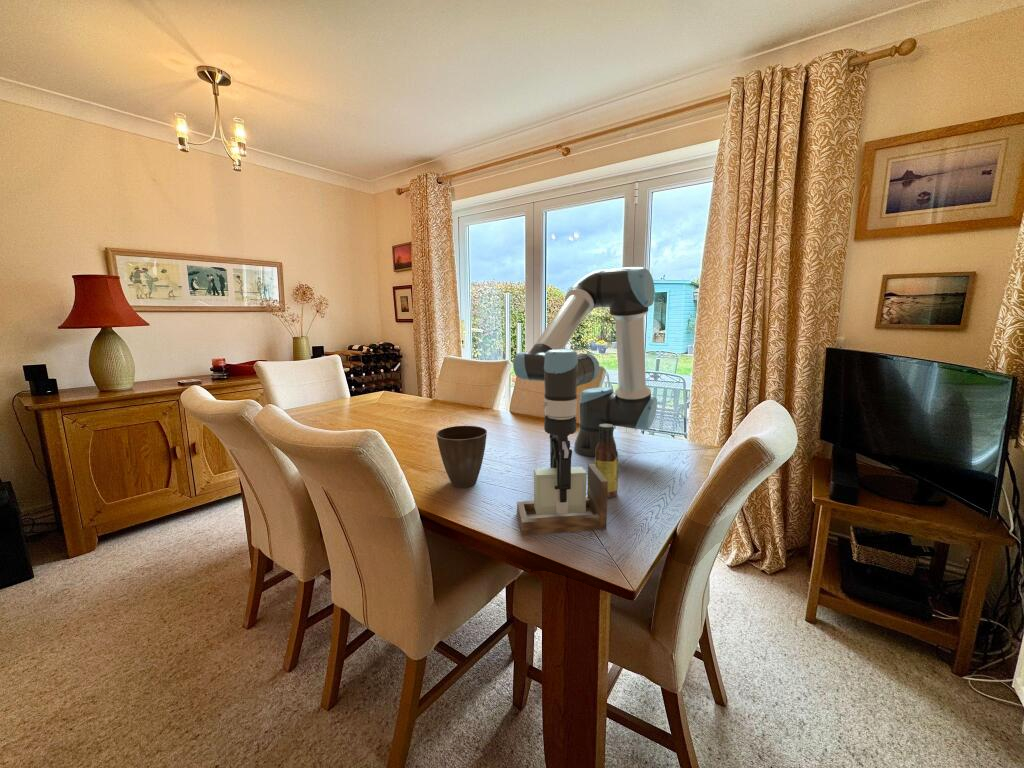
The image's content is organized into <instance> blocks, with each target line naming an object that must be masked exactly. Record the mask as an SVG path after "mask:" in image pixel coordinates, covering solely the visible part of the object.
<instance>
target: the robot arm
mask: <svg viewBox="0 0 1024 768" xmlns="http://www.w3.org/2000/svg"><path fill="white" fill-rule="evenodd" d="M654 283H655V282H654V278H653V276H652V274H651V272H650V271H649V269H647V268H646V267H641V266H640V267H639V266H636V267H635V266H630V267H620V268H611V269H610V268H609V269H598V270H594V271H592V272H590V273H588V274H586V275H584V276H582V277H581V278H580V279H579V280H578V281H576V282H575V283H574V284H573V285H572V286H571V288H570V289H569V290H568V292H567V293H566V295H565V297H564V303H563V304H562V305H561V306H560V308H559V310H558V311H557V312H556V314H555V315H554V317H553V318H552V319H551V321H550V322H549V323H548V325H547V327H545V329H544V331H543V332H542V334H541V335H540V336H539V337H538V339H537V340H536V342H535V343H534V345H533V346H532V347H531V349H530V350H529V351H520V352H518V353H517V354H516V355H515V357H514V358H513V364H512V368H513V372H514V375H515V376H516V377H517V378H519V379H522V380H527V381H534V382H535V381H536V382H537V381H538V382H544V401H542V403H541V406H542V407H544V414H545V416H544V418H543V420H544V424H543V425H544V432H545V433H547V434H549V435H548V436H549V444H550V446H549V447H550V448H549V449H550V450H549V451H550V452H549V453H550V454H549V455H550V456H549V457H550V458H549V459H550V461H549V462H550V465H549V466H550V467H549V468H557V486H554V488H555V489H556V514H567V513H568V489H571V467H572V455H573V450H572V448H571V442H570V440H569V438H568V437H569V436H570V435H574V434H575V433H576V432H577V417H576V416H577V414H578V413H577V412H578V411H577V410H578V405H577V404H578V403H579V430H578V432H577V435H576V438H575V442H574V451H575V452H576V453H578V454H579V455H583V456H587V457H593V458H595V449H596V446H597V445H598V443H599V425H600V424H612V425H613V426H614V427H618V428H626V429H627V428H628V429H633V430H635V431H637V430H639V431H640V430H641V431H646V430H648V429H650V428H651V426H652V425H653V422H654V421H655V417H656V414H657V408H658V399H657V397H655V396H654V395H652V394H651V393H652V392H651V389H650V387H648V386H647V384H646V382H647V381H646V357H645V356H646V355H645V353H646V352H645V325H644V323H645V322H644V321H645V320H644V319H645V318H644V316H645V315H646V314H648V312H649V307H651V306H652V305H653V304H654V302H655V295H656V291H655V284H654ZM598 308H609V315H610V316H611V317H613V318H614V320H615V321H614V322H615V323H614V324H615V334H616V335H615V337H616V338H615V339H616V351H617V352H616V356H617V370H618V371H617V373H618V387H617V388H616V389H615V391H614V388H612V387H609V386H604V387H603V386H602V387H601V386H600V387H592V388H587V389H584V390H582V391H581V392H580V395H579V396H580V397H579V402H578V401H577V400H578V397H577V392H578V391H577V390H578V387H579V386H582V385H587V384H588V383H591V382H592V381H593V380H596V378H597V377H598V375H599V373H600V369H601V368H600V363H599V360H598V359H597V357H595V356H594V355H592V354H591V353H583V352H581V353H577V352H576V350H574V349H568V348H567V349H565V348H566V346H567V344H568V343H569V341H570V340H571V338H572V337H573V335H574V334H575V332H576V331H577V329H578V327H579V325H581V323H582V321H583V319H584V318H585V316H588V315H589V314H590V313H592V311H593V310H594V309H598ZM613 441H614V444H615V447H616V448H617V444H616V441H615V437H614V435H613ZM570 448H571V449H570Z"/></svg>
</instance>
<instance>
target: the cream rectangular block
mask: <svg viewBox="0 0 1024 768" xmlns="http://www.w3.org/2000/svg"><path fill="white" fill-rule="evenodd" d="M554 486H557V468H550V467H544V468H543V467H542V468H534V469H533V501H534V508H535V511H536V514H537V515H542V514H556V489H555V488H554ZM586 498H587V471H586V470H585V469H584V467H583V466H571V489H568V513H575V512H586Z"/></svg>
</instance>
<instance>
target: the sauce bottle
mask: <svg viewBox="0 0 1024 768" xmlns="http://www.w3.org/2000/svg"><path fill="white" fill-rule="evenodd" d="M614 431H615V426H613V425H612V424H600V425H599V443H598V445H597V446H596V449H595V457H594V465H595V466H596V468H597V469H598V470H599V471H600V472H601V474H602V475H603V476H604V477H605V479H606V480H607V481H608V490H607V499H610V498H614V497H616V496H617V494H618V488H619V487H618V486H619V484H618V483H619V481H618V479H619V478H618V477H619V463H618V462H619V455H618V450H617V446H616V447H615V444H614V441H613V436H614Z"/></svg>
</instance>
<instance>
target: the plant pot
mask: <svg viewBox="0 0 1024 768" xmlns="http://www.w3.org/2000/svg"><path fill="white" fill-rule="evenodd" d="M487 433H488V431H487V429H486V428H484V427H481V426H477V425H455V426H449V427H445V428H442V429H439V430H438V431H437V432H436V440H437V445H438V450H439V454H440V457H441V461H442V464H443V466H444V469H445V472H446V475H447V476H448V477H447V478H449V481H450V483H451V485H452V486H453V487H455V488H458V489H459V488H461V489H462V488H464V489H465V488H469V487H473V486H474V485H476V484H477V481H478V478H479V476H480V472H481V468H482V466H483V461H484V455H485V450H486V443H487Z"/></svg>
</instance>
